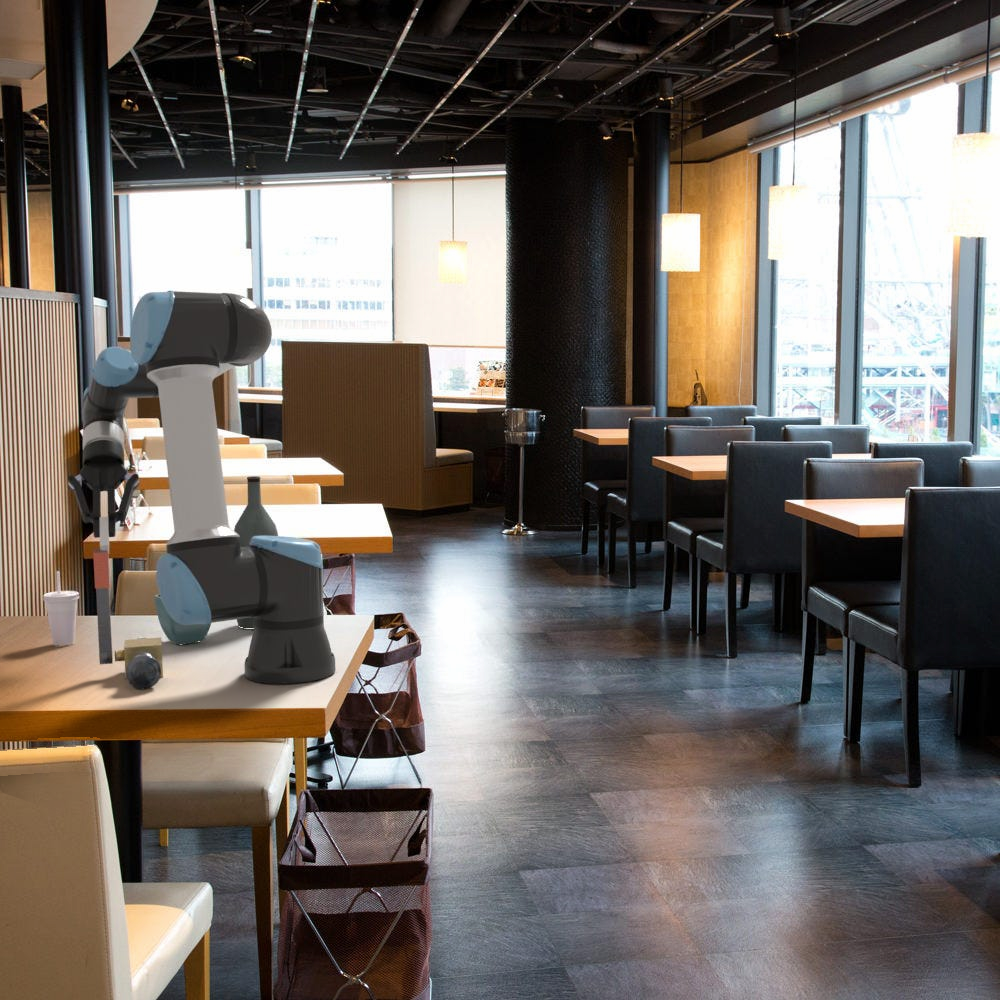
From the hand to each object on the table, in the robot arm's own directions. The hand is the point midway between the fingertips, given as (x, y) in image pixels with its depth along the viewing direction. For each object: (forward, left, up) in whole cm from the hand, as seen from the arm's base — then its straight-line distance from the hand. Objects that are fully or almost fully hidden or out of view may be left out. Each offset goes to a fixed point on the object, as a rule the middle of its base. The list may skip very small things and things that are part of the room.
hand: (104, 549), depth 215 cm
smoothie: (+15, -1, -19) cm, 24 cm away
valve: (-19, +7, -19) cm, 28 cm away
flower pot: (-3, -15, -19) cm, 25 cm away
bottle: (-5, -32, -19) cm, 38 cm away
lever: (-13, +10, -17) cm, 24 cm away
